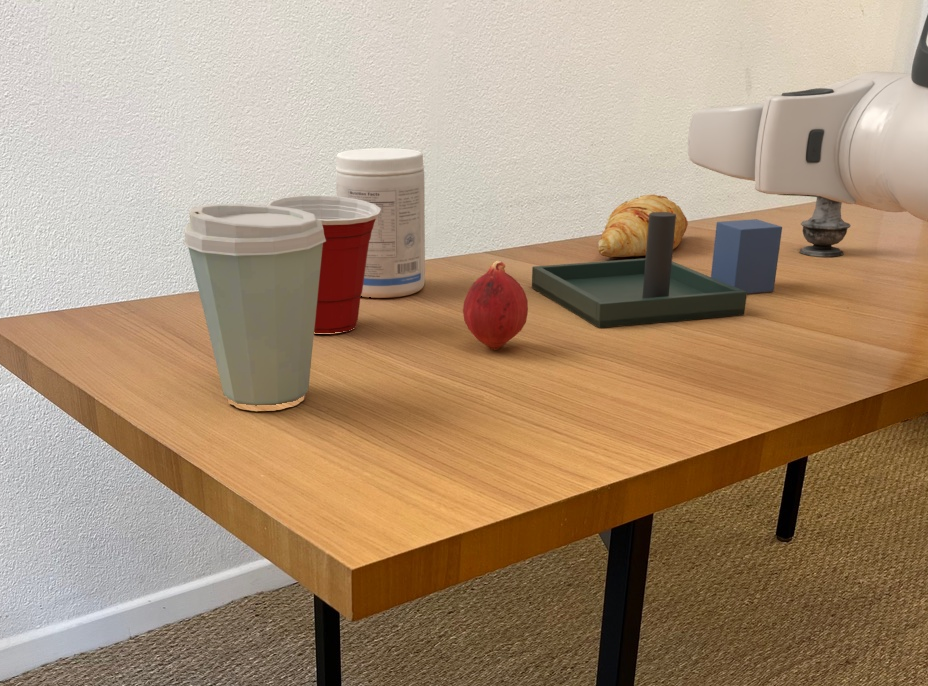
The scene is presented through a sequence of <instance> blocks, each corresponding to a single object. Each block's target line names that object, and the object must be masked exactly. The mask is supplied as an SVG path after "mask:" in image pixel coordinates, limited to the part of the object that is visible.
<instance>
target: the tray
mask: <svg viewBox="0 0 928 686" xmlns="http://www.w3.org/2000/svg"><path fill="white" fill-rule="evenodd" d="M675 222H676V214H674V213H670V212H653V213H650V214H649V222H648V235H647V247H646V256H645V257H643V258H635V259H634V258H631V259H617V260H602V261H590V262H577V263H576V262H575V263H562V264H561V263H560V264H550V265H549V264H548V265H535V266H532V269H531V270H532V271H531V274H532V275H531V288H532V289H533V290H534V291H536V292H538V293H540V294H541V295H543V296H545V297H546V298H548V299H550V300H551V301H553V302H554V303H556V304H557V305H560V306H562V307H563V308H564V309H567V310H568V311H569V312H571V313H573V314H575V315H576V316H578V317H579V318H581V319H583V320H585V321H586V322H588V323H590V324H591V325H593V326H595V327H596V328H598V329H604V328H615V327H624V326H625V327H626V326H638V325H647V324H648V325H649V324H650V325H651V324H659V323H660V324H661V323H669V322H670V323H671V322H682V321H692V320H704V319H717V318H727V317H738V316H745V313H746V304H747V297H748V296H747V295H748V294H747V292H746V291H744V290H741V289H739V288H736V287H734V286H731V285H729V284H727V283H724V282H722V281H719V280H717V279H714V278H712V277H711V276H709V275H708V274H705V273H702V272H700V271H697V270H695V269H693V268H690V267H687V266H684V265H682V264H680V263H678V262H675V261H673V254H674V249H673V243H674V233H675Z"/></svg>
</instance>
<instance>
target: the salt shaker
mask: <svg viewBox="0 0 928 686" xmlns="http://www.w3.org/2000/svg"><path fill="white" fill-rule="evenodd" d="M842 204H843V203H841V202H837V201H833V200H830V199H827V198H824V197H821V196H818V197H816V200H815V206H814V207H815V208H814V211H813V213H812V216H811V217H810V218H808V219H807V220H803V221H801V222H800V225H801V226H802V234H803V238H804V239H805V240H806V242H808V243H809V244H812V245H806V246H803V248H800V249H799V253H800V254H802V255H805V256H810V257H817V258H820V257H821V258H834V257H841V256H843V255H844V251H843V250H841V248H839V247H836V246H834V245H837V244H840V243H841V242H842V241H843V240H844V239H845V236H846V235H847V232H848V229H849V228H851V223H848V222H846V221H845V220H844V219H843V218H842V210H841V209H842Z"/></svg>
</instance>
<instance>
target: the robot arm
mask: <svg viewBox="0 0 928 686" xmlns="http://www.w3.org/2000/svg"><path fill="white" fill-rule="evenodd" d="M687 154H688V158H689V160H690V162H692V163H693V164H694V165H697V166H699V167H702V168H704V169H707V170H710V171H712V172H716V173H719V174H722V175H724V176H727V177H730V178H736V179H739V180H745V181H753V182H754V190H756V191H757V192H758V193H763V194H766V195H777V196H790V197H791V196H795V197H811V198H817V197H818V196H821V197H824V198H827V199H830V200H833V201H837V202H841V203H842V204H846V205H856V206H861V207H864V208H869V209H874V210H877V211H882V212H886V213H887V212H888V213H905V212H907V213H908V214H910V215H911V216H913V217H914V218H917V219H919V220H921V221H924V222H925V221H926V222H928V14H926V17H925V21H924V23H923V27H922V29H921V33H920V37H919V40H918V43H917V46H916V49H915V52H914V57H913V61H912V66H911V72H910V73H907V72H906V73H905V72H894V71H892V72H891V71H876V70H875V71H866V72H862V73H859V74H857V75H854V76H853V77H850V78H848V79H843V80H839V81H837V82H833V83H831V84H828V85H825V86H822V87H819V88H810V89H805V90H798V91H789V92H788V91H787V92H782V93H781V94H780V93H779V94H770V95H768V96H766V97H765V98H764V101H763V102H755V103H745V104H735V105H734V104H733V105H722V106H710V107H703V108H699V109H696V110H695V111H694V112H693V114H692V115H691V118H690V122H689V127H688V137H687Z"/></svg>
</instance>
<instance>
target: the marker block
mask: <svg viewBox="0 0 928 686" xmlns="http://www.w3.org/2000/svg"><path fill="white" fill-rule="evenodd" d="M715 225H716V226H715V234H714V235H715V236H714V242H713V243H714V244H713V254H712V264H711V273H710V277H712V278H714V279H717V280H719V281H722V282H724V283H727V284H729V285H731V286H734V287H736V288H739V289H741V290H744V291H746V292H747V295H750V294H763V293H773V292H775V284H776V278H777V277H776V276H777V269H778V262H779V255H780V247H781V239H782V232H783V226H781V225H779V224H774V223H772V222H771V223H770V222H767V221H764V220H761V219H757V218H754V219H753V218H752V219H741V220H740V219H739V220H724V221H723V220H722V221H716V224H715Z"/></svg>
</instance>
